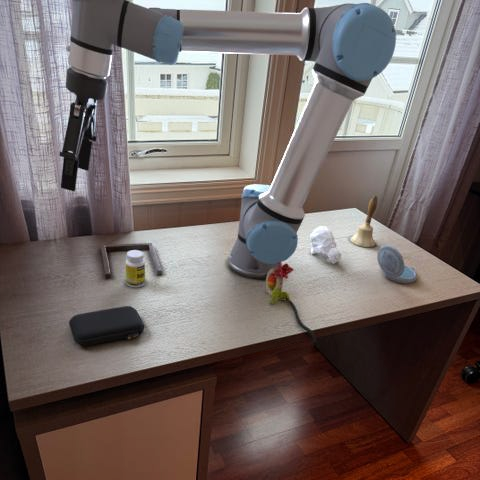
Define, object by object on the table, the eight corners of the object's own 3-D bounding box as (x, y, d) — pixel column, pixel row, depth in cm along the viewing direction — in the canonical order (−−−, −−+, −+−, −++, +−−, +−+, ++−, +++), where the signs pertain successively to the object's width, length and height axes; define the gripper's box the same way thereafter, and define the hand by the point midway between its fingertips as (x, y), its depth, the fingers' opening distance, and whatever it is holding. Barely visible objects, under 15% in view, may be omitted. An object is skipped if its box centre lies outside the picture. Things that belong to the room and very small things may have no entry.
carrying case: (77, 354, 90) (148, 339, 96) (76, 342, 88) (148, 328, 94) (68, 324, 97) (134, 312, 103) (66, 313, 95) (134, 301, 101)
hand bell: (346, 241, 149) (358, 195, 140) (355, 234, 155) (368, 189, 146) (369, 249, 146) (383, 203, 136) (378, 242, 152) (392, 197, 142)
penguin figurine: (327, 222, 138) (352, 242, 130) (320, 246, 143) (343, 266, 136) (311, 224, 135) (335, 245, 127) (304, 248, 140) (327, 269, 133)
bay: (161, 275, 118) (161, 270, 117) (105, 278, 114) (105, 273, 113) (152, 247, 130) (152, 242, 130) (100, 249, 126) (100, 244, 125)
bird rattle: (257, 301, 117) (274, 307, 109) (254, 259, 114) (272, 262, 106) (277, 298, 119) (296, 303, 111) (275, 256, 116) (294, 259, 108)
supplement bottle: (139, 289, 111) (138, 259, 106) (122, 284, 112) (121, 255, 107) (148, 281, 115) (148, 252, 110) (132, 276, 116) (131, 247, 111)
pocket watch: (378, 239, 126) (412, 232, 133) (368, 273, 132) (401, 264, 140) (406, 255, 119) (440, 246, 127) (393, 289, 126) (427, 279, 133)
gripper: (82, 58, 94) (71, 156, 106) (49, 74, 74) (40, 193, 85) (118, 70, 96) (103, 166, 107) (96, 89, 76) (80, 204, 87)
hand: (75, 178), depth 96 cm, fingers open, 13 cm apart
